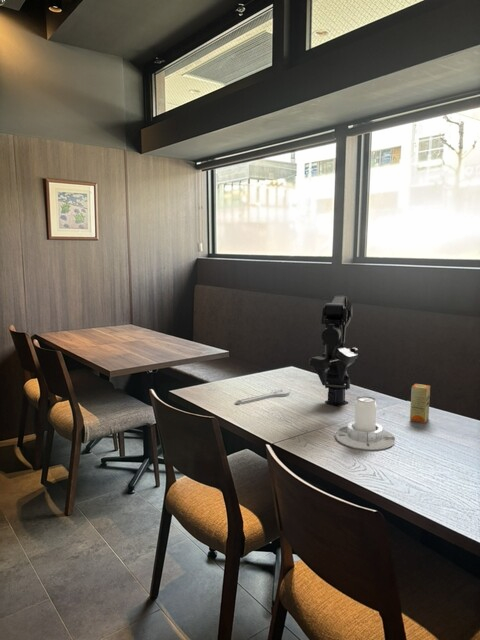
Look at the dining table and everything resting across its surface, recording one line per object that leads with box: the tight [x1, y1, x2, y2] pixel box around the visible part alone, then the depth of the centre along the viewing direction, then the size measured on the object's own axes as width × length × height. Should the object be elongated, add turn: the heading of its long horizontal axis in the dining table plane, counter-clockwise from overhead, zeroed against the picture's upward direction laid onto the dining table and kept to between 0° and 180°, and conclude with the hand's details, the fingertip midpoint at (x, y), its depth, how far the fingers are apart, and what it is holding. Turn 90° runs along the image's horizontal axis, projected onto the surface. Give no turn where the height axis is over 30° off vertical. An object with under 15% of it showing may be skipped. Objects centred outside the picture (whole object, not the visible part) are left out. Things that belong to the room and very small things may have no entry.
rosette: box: [334, 420, 396, 451], centre depth 148 cm, size 18×18×4 cm
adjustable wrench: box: [235, 388, 291, 406], centre depth 189 cm, size 25×6×2 cm, turn 119°
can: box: [354, 395, 377, 432], centre depth 147 cm, size 6×6×12 cm
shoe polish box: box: [409, 383, 431, 424], centre depth 163 cm, size 5×5×12 cm
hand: (332, 382), depth 167 cm, fingers open, 9 cm apart
